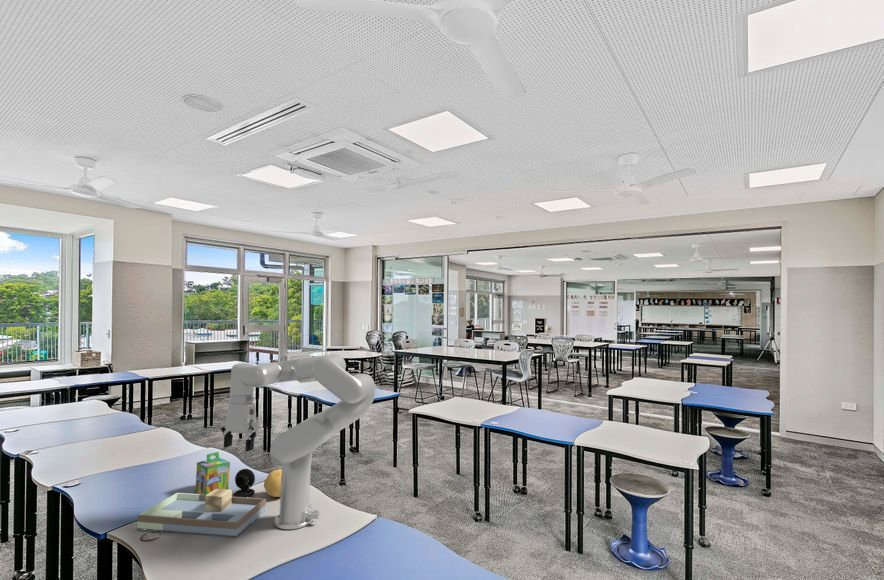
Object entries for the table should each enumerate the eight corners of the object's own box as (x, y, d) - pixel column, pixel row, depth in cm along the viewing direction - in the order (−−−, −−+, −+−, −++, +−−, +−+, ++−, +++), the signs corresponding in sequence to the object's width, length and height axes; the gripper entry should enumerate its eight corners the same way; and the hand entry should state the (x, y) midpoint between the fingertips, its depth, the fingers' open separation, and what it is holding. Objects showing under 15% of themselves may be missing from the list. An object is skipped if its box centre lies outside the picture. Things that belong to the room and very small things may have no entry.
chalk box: (205, 499, 163) (207, 459, 164) (194, 492, 168) (196, 453, 169) (229, 491, 170) (231, 453, 171) (218, 485, 176) (220, 448, 176)
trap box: (265, 511, 153) (265, 498, 154) (236, 537, 135) (237, 522, 136) (176, 505, 157) (177, 492, 157) (136, 529, 139) (137, 515, 139)
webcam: (228, 498, 164) (230, 471, 164) (240, 490, 171) (241, 464, 172) (248, 500, 163) (249, 473, 163) (258, 492, 170) (260, 466, 171)
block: (231, 504, 153) (232, 489, 153) (221, 511, 147) (221, 496, 148) (215, 503, 154) (216, 488, 154) (204, 510, 148) (205, 495, 148)
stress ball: (275, 492, 172) (256, 480, 167) (293, 472, 175) (275, 459, 170) (280, 506, 163) (260, 494, 159) (299, 484, 166) (280, 472, 162)
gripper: (268, 399, 152) (266, 448, 152) (230, 395, 158) (228, 442, 157) (252, 403, 145) (249, 455, 144) (213, 398, 151) (210, 448, 150)
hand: (238, 448), depth 151 cm, fingers open, 9 cm apart
